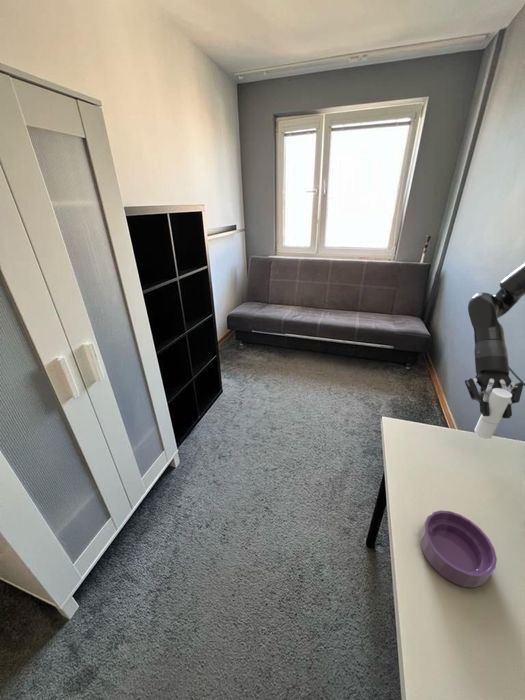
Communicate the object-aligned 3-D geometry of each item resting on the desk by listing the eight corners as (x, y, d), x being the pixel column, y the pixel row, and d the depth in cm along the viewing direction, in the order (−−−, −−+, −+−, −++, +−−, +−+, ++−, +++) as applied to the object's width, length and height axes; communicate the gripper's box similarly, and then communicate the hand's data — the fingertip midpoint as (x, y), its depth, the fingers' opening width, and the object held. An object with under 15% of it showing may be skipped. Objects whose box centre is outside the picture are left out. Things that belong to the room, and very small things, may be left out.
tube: (489, 440, 80) (509, 399, 73) (472, 432, 83) (490, 392, 76) (494, 433, 83) (514, 393, 75) (477, 425, 85) (495, 386, 78)
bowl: (428, 512, 72) (434, 499, 69) (491, 550, 64) (500, 537, 61) (411, 555, 64) (416, 542, 61) (481, 605, 56) (491, 593, 53)
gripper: (510, 363, 84) (516, 421, 79) (457, 359, 87) (460, 414, 82) (528, 356, 77) (536, 419, 72) (470, 352, 80) (474, 413, 75)
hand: (496, 416), depth 77 cm, fingers closed on tube, 4 cm apart
